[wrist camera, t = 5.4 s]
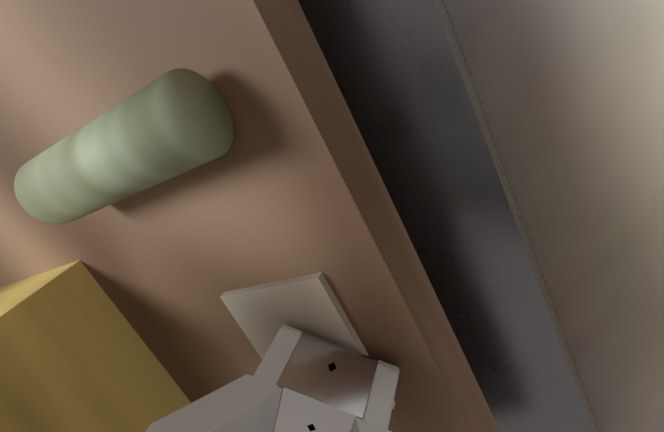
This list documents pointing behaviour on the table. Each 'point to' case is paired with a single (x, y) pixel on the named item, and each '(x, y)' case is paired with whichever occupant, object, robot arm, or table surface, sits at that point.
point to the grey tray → (454, 202)
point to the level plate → (194, 218)
